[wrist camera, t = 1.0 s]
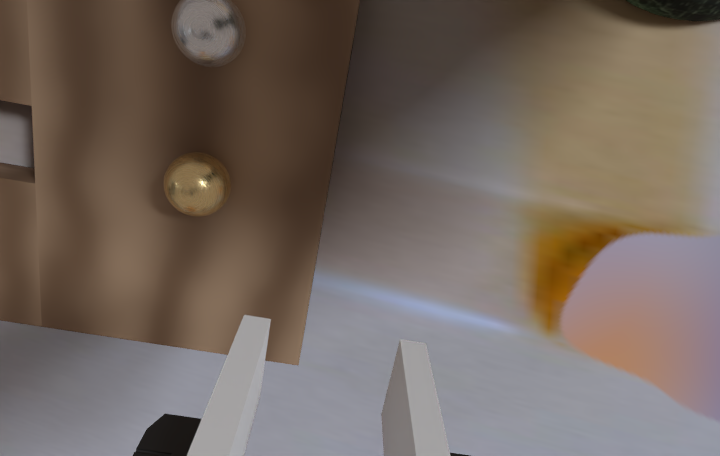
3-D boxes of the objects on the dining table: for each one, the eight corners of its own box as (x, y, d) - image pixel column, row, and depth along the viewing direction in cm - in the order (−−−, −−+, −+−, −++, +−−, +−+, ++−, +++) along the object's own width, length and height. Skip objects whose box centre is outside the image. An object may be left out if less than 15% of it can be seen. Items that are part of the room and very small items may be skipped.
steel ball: (182, 58, 27) (158, 61, 24) (186, -14, 26) (161, -21, 22) (248, 70, 27) (233, 75, 24) (255, 0, 26) (240, -5, 23)
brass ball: (174, 199, 30) (152, 219, 26) (178, 141, 28) (154, 154, 25) (234, 209, 30) (219, 231, 27) (240, 152, 29) (224, 167, 25)
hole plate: (-77, 285, 34) (-108, 304, 32) (-133, -124, 26) (-181, -140, 24) (302, 344, 36) (298, 365, 34) (363, -22, 28) (364, -27, 25)
